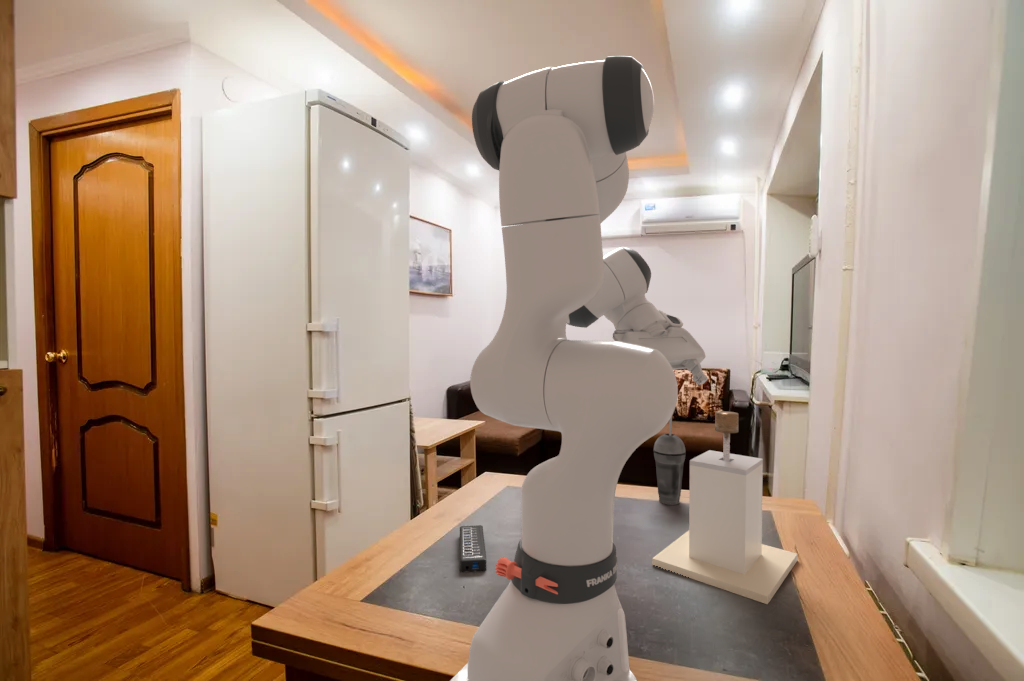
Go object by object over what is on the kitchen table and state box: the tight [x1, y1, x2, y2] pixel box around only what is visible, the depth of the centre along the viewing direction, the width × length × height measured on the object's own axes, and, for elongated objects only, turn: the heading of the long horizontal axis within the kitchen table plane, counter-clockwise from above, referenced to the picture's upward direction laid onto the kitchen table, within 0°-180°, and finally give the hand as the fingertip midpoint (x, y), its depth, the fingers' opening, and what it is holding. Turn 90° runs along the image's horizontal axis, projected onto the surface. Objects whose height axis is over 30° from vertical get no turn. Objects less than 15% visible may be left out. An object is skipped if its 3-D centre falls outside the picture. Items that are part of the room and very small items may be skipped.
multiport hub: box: [459, 524, 487, 573], centre depth 90 cm, size 4×14×2 cm, turn 6°
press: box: [651, 449, 799, 605], centre depth 85 cm, size 18×18×18 cm
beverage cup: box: [652, 415, 687, 506], centre depth 115 cm, size 7×7×20 cm
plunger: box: [714, 410, 739, 462], centre depth 85 cm, size 7×7×18 cm
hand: (688, 384), depth 90 cm, fingers open, 8 cm apart
